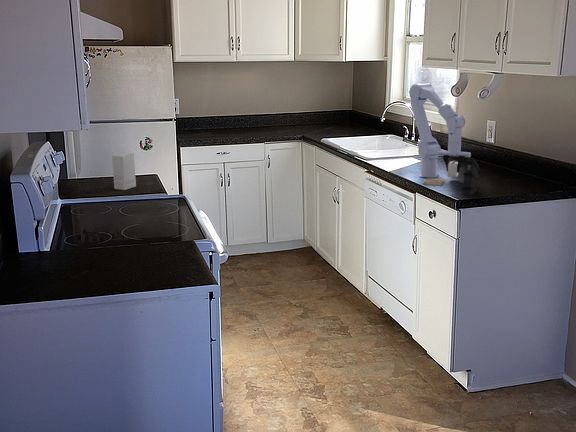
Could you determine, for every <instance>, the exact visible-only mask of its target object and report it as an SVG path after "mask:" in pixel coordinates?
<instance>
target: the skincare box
mask: <svg viewBox="0 0 576 432" xmlns="http://www.w3.org/2000/svg"><path fill="white" fill-rule="evenodd" d="M111 162H112V163H111V164H112V175H113V176H112V177H113V187H114V190H120V191H121V190H122V191H126V190H129V189H132V188H135V187H137V180H136V179H137V178H136V168H135V167H136V166H135V154H134V153H133V152H121V153H116V154H112V155H111Z"/></svg>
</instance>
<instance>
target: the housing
mask: <svg viewBox="0 0 576 432" xmlns="http://www.w3.org/2000/svg"><path fill="white" fill-rule="evenodd" d="M457 168H458V161H456V160H452V161H449V163H448V172H447V177H449V178H457V177H458V176H459V173H458V172H457Z"/></svg>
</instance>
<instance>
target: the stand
mask: <svg viewBox="0 0 576 432" xmlns="http://www.w3.org/2000/svg"><path fill="white" fill-rule="evenodd" d="M444 183H445V180H444V179H443V178H429V177H426V179H424V180H423V182H422V185H426V186H440V187H441V186H442V185H443V184H444Z"/></svg>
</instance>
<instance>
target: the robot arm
mask: <svg viewBox="0 0 576 432" xmlns="http://www.w3.org/2000/svg"><path fill="white" fill-rule="evenodd" d="M408 93H409V97H410V106H411V109H412V113H413V117H414V121H415V123H416V127H417V128H416V129H417V132H418V135H419V138H420V140H419V141H418V143H417V146H418V151H417V152H418V155H419V157H420V159H421V163H420V164H421V165H420V174H419V175H418V177H419V178H432V179H437V177H438V176H439V174H440V173H437V172H438V171H437V170H438V158H439V157H440V156H441V157H442V158H443V161H444V164H445V167H446V172H447V173H448V163H449V162H450V159H451V158H450V157H457V162H458V168H457V172H458V174H459V173H460V169H461V166H462V164H463V161H464V159H465V158H471V156H472V155H471V154H472V153H471V152H469V151H468V152H467V151H462V150H461V149H462V148H461V147H462V134H463V133H462V132H463V131H462V130H463V127H464V126H465V124H466V119H465V118H464V116H463V115H462V114H458V113H457V112H456V111H455V110H454V109H453V108H452V105H451V104H448V103H444V101H443V100H442V99H441V98H440V96H439V95H438V94H437V93H436V91H435V87H433V86H432V84H431V83H429V82H428V83H427V82H426V83H414V84H412V85H411V86H410V88H409V90H408ZM427 101H429V102H430V103H432V104H433V105H434V106H435V107H436V108H437V109H438V111H437V112H438V114H439V115H440V116H441V118H442V119H443V120H444V121H445V125H446V127H447V131H448V139H447V140H448V141H447V142H448V143H447V150H442V149H441V146H440V144H439V142H438V140H437V139H436V138H435V137H434V136H432V135H433V134H432V132H431V127H430V125H429V124H430V123H429V120H428V117H427V114H426V110H425V107H424V105H425V103H426V102H427Z"/></svg>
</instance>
